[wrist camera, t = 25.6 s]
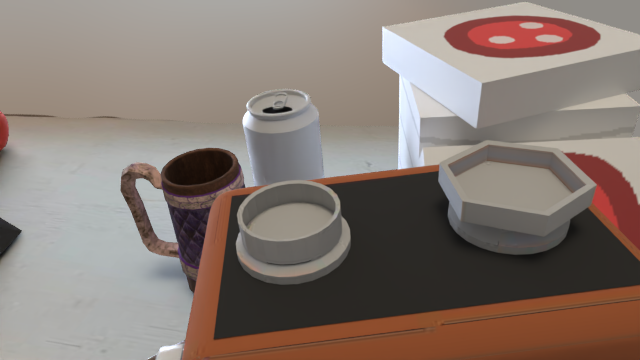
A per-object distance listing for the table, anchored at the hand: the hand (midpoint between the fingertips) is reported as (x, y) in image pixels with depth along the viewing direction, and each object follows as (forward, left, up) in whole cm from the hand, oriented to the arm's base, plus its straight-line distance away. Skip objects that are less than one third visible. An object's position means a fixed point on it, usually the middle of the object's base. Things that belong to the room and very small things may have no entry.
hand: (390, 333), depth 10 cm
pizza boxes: (+24, -15, -22) cm, 35 cm away
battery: (-1, 0, -6) cm, 6 cm away
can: (+36, +3, -22) cm, 41 cm away
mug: (+26, +11, -22) cm, 35 cm away
